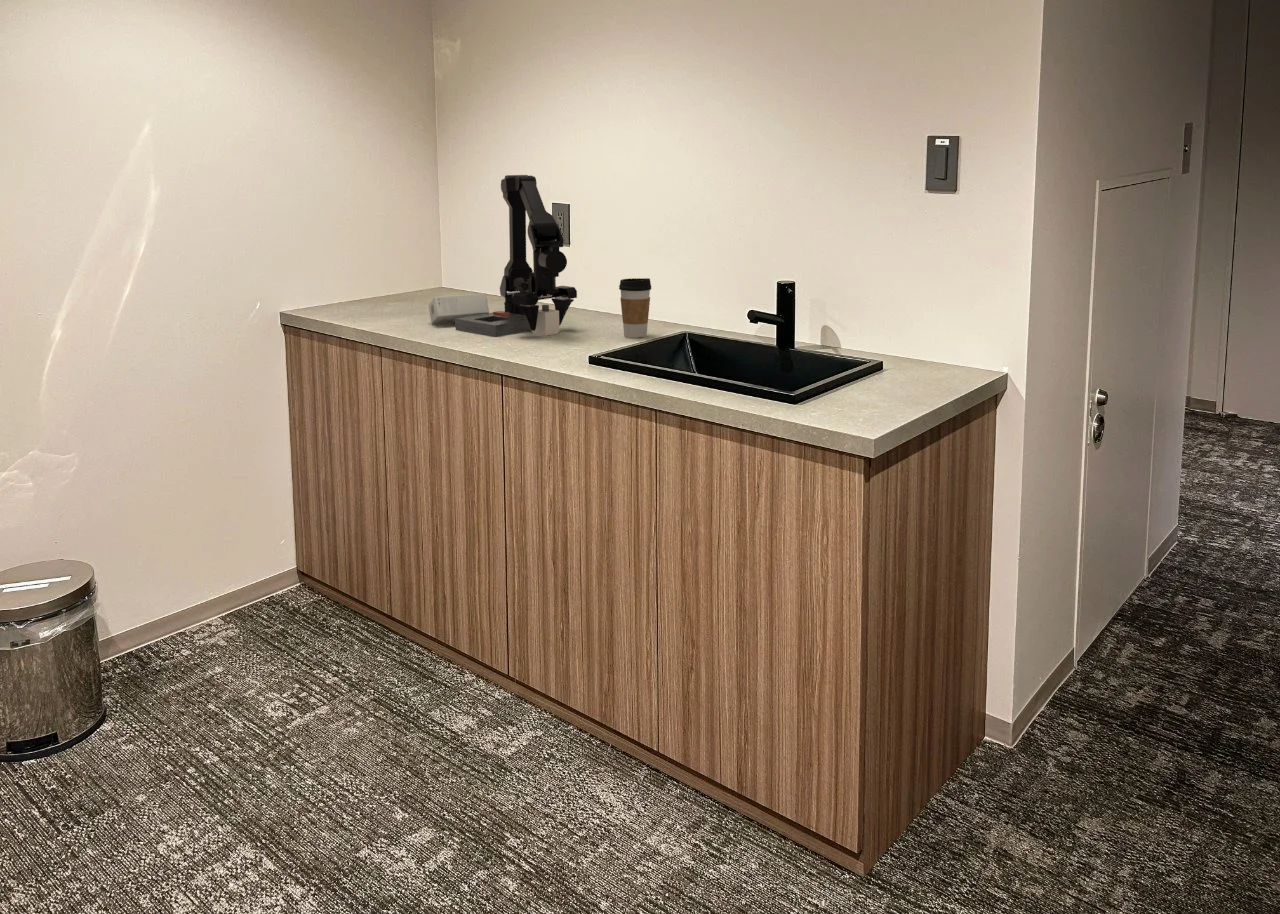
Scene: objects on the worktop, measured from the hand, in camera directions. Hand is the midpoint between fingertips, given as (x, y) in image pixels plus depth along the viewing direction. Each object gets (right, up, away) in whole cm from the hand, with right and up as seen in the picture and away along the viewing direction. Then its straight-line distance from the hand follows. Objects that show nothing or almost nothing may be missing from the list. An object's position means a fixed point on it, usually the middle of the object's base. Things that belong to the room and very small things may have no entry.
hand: (545, 328), depth 307 cm
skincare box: (-32, +6, +11) cm, 35 cm away
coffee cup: (+24, -3, -4) cm, 24 cm away
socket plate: (-14, 0, +6) cm, 15 cm away
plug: (0, -1, 0) cm, 1 cm away
